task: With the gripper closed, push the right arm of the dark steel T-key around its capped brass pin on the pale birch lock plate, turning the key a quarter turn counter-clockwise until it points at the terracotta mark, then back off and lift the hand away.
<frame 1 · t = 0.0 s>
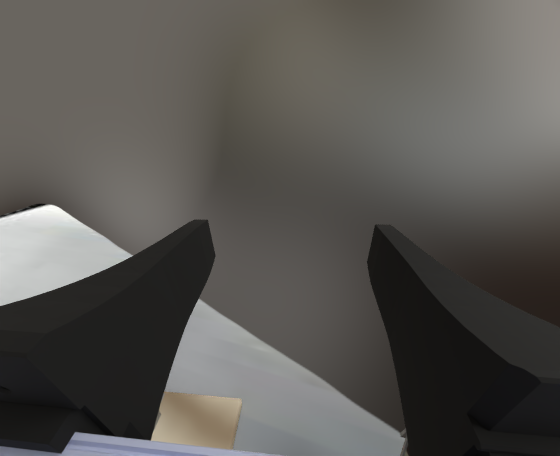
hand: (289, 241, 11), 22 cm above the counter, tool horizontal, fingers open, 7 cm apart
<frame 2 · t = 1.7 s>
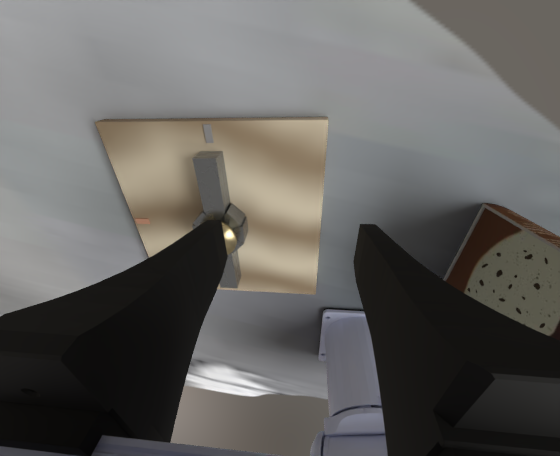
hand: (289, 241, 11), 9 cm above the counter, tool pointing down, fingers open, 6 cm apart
lock plate: (227, 217, 22), on the counter
food container: (493, 252, 22), on the counter
t key: (215, 171, 19), point 1 cm above the counter, touching lock plate
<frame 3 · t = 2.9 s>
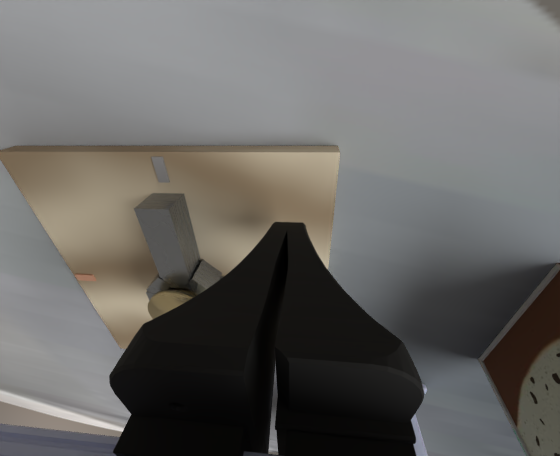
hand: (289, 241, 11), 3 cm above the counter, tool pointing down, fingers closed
lock plate: (200, 271, 16), on the counter
t key: (175, 219, 13), point 1 cm above the counter, touching lock plate
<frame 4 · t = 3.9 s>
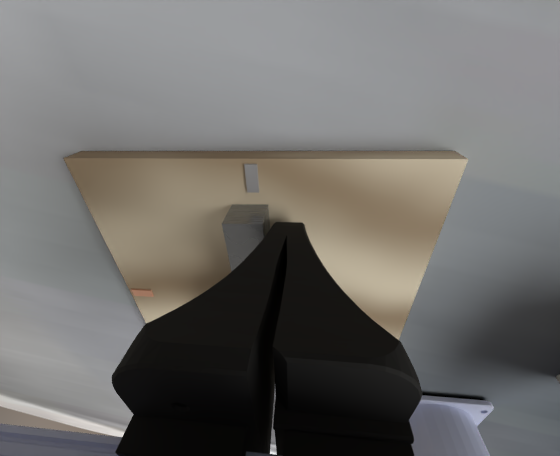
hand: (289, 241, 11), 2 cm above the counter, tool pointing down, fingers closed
lock plate: (265, 285, 15), on the counter
t key: (253, 232, 12), point 1 cm above the counter, touching gripper, lock plate
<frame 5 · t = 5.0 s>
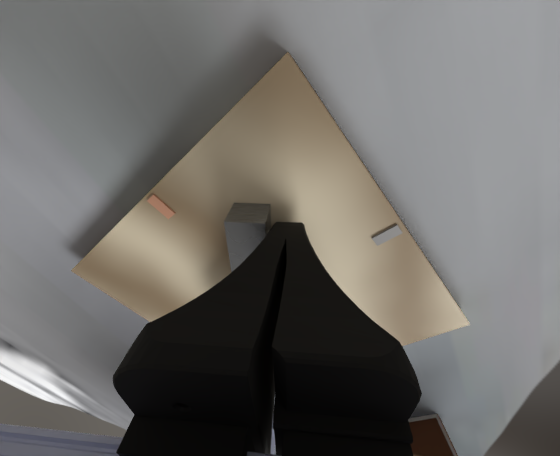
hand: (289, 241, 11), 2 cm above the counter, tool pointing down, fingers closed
lock plate: (268, 284, 15), on the counter
food container: (398, 432, 25), on the counter
t key: (254, 231, 12), point 1 cm above the counter, touching gripper, lock plate
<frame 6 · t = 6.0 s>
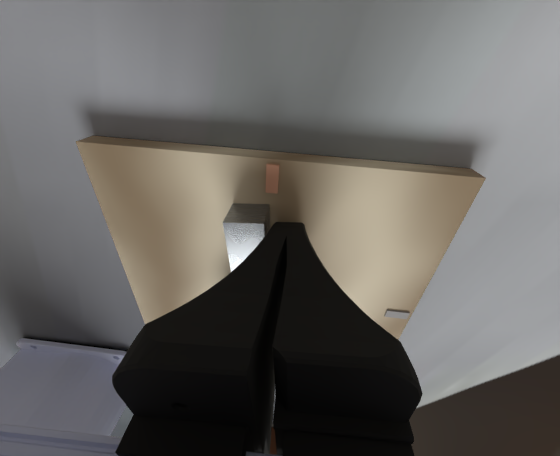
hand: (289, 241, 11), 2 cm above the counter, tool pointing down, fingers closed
lock plate: (269, 285, 15), on the counter
t key: (253, 232, 12), point 1 cm above the counter, touching gripper, lock plate
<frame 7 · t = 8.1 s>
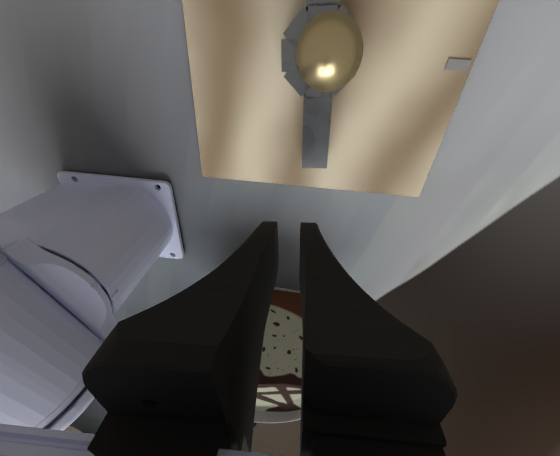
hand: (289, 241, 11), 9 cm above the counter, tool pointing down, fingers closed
lock plate: (325, 55, 15), on the counter
food container: (265, 303, 28), on the counter
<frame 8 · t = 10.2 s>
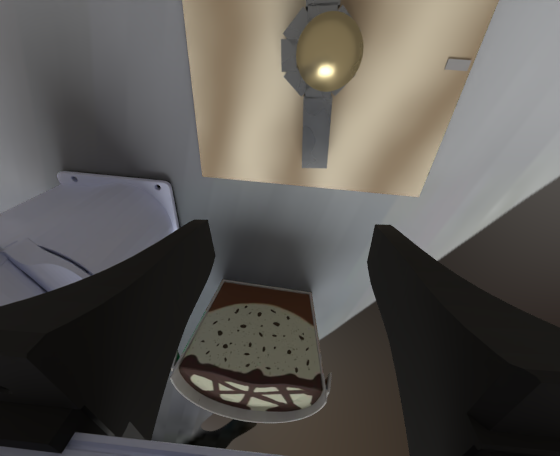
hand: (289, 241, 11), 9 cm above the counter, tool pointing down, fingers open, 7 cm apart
lock plate: (325, 55, 15), on the counter
food container: (265, 303, 28), on the counter
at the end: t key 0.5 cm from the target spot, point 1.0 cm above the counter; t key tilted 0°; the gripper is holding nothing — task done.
